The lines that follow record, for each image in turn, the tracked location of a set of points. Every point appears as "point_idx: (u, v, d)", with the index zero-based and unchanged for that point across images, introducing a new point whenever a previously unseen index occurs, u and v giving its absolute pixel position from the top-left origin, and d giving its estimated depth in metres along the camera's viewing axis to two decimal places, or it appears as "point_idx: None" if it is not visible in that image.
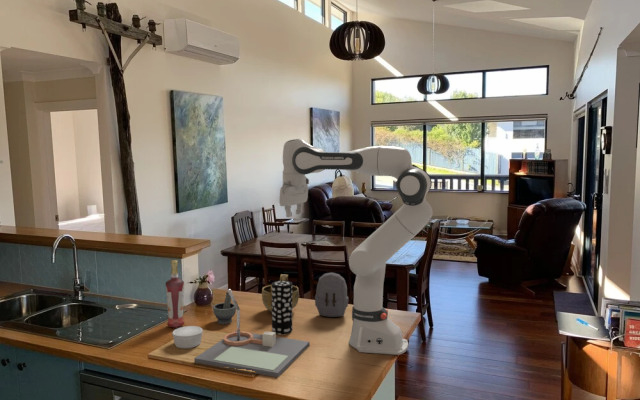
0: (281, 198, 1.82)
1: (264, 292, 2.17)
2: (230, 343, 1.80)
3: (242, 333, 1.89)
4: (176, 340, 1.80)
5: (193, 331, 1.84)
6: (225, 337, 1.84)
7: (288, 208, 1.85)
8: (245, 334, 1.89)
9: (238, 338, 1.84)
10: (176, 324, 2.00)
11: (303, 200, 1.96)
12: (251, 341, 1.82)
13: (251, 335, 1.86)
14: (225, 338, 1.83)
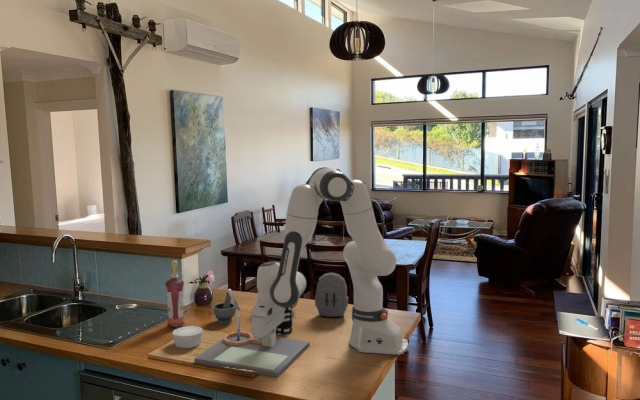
0: None
1: None
2: (230, 343, 1.80)
3: (242, 333, 1.89)
4: (176, 340, 1.80)
5: (193, 331, 1.84)
6: (225, 337, 1.84)
7: None
8: (245, 334, 1.89)
9: (238, 338, 1.84)
10: (176, 324, 2.00)
11: None
12: (251, 341, 1.82)
13: (251, 335, 1.86)
14: (225, 338, 1.83)
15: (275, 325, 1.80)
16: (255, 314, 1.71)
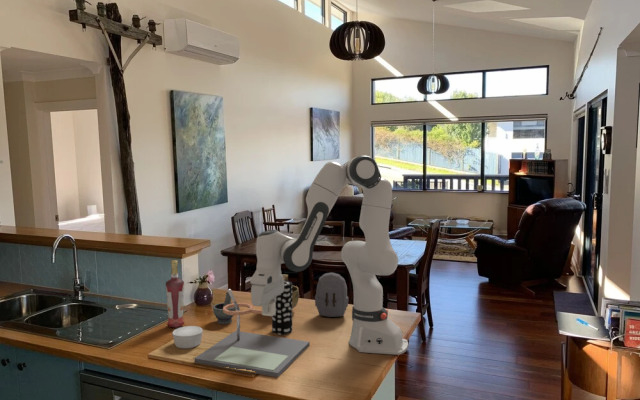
0: None
1: None
2: (229, 313, 1.78)
3: (242, 304, 1.88)
4: (176, 340, 1.80)
5: (193, 331, 1.84)
6: (224, 307, 1.83)
7: None
8: (245, 305, 1.88)
9: (238, 338, 1.84)
10: (176, 324, 2.00)
11: None
12: (251, 311, 1.81)
13: (251, 306, 1.85)
14: (224, 308, 1.82)
15: (275, 295, 1.79)
16: (255, 282, 1.70)
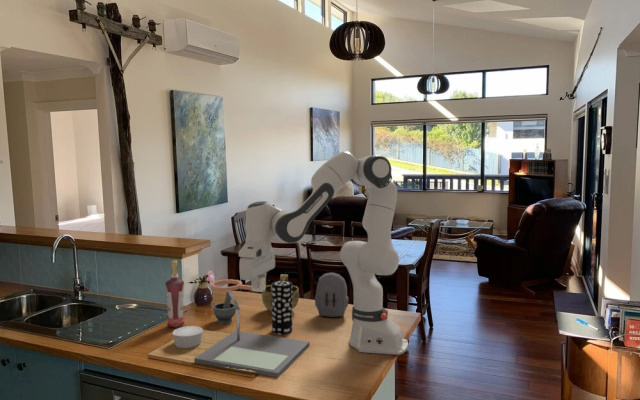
0: None
1: (264, 292, 2.17)
2: (217, 288, 1.70)
3: (231, 281, 1.80)
4: (176, 340, 1.80)
5: (193, 331, 1.84)
6: (212, 283, 1.74)
7: None
8: (234, 282, 1.79)
9: (238, 338, 1.84)
10: (176, 324, 2.00)
11: None
12: (240, 287, 1.73)
13: (240, 282, 1.77)
14: (212, 284, 1.73)
15: (265, 270, 1.71)
16: (243, 255, 1.62)
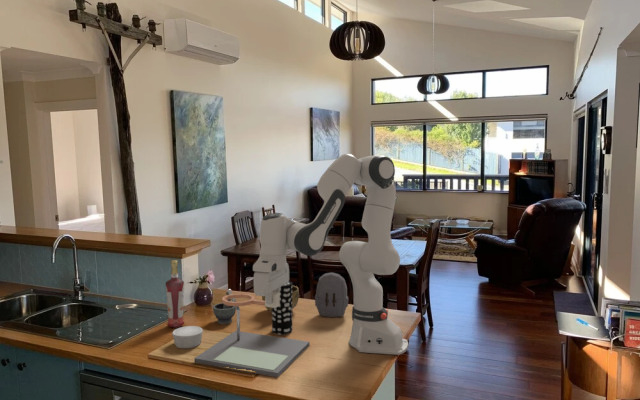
0: None
1: None
2: (229, 303, 1.63)
3: (242, 295, 1.72)
4: (176, 340, 1.80)
5: (193, 331, 1.84)
6: (224, 298, 1.67)
7: None
8: (246, 296, 1.72)
9: (238, 338, 1.84)
10: (176, 324, 2.00)
11: None
12: (252, 302, 1.65)
13: (252, 297, 1.69)
14: (224, 299, 1.66)
15: (279, 285, 1.64)
16: (258, 269, 1.54)
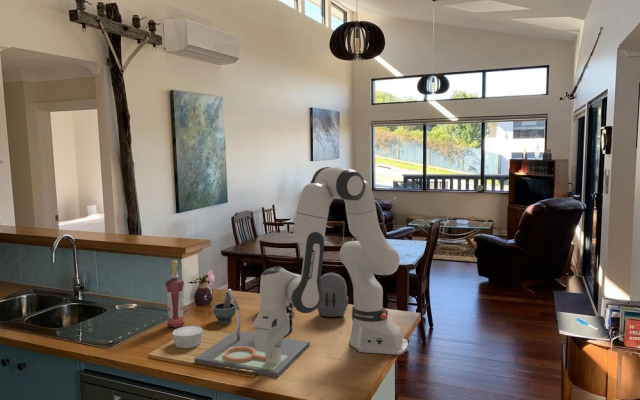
0: None
1: None
2: (231, 360, 1.65)
3: (244, 348, 1.74)
4: (176, 340, 1.80)
5: (193, 331, 1.84)
6: (225, 353, 1.69)
7: None
8: (247, 349, 1.74)
9: (238, 338, 1.84)
10: (176, 324, 2.00)
11: None
12: (254, 357, 1.67)
13: (254, 350, 1.71)
14: (225, 354, 1.68)
15: (280, 337, 1.65)
16: (258, 326, 1.56)
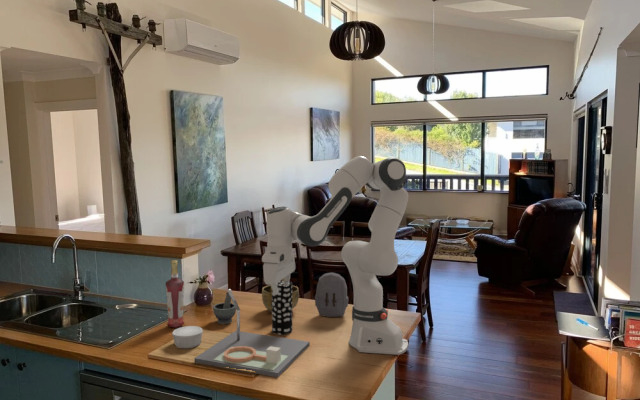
0: None
1: (264, 292, 2.17)
2: (231, 360, 1.65)
3: (244, 348, 1.74)
4: (176, 340, 1.80)
5: (193, 331, 1.84)
6: (225, 353, 1.69)
7: None
8: (247, 349, 1.74)
9: (238, 338, 1.84)
10: (176, 324, 2.00)
11: None
12: (254, 357, 1.67)
13: (254, 350, 1.71)
14: (225, 354, 1.68)
15: (287, 273, 1.75)
16: (267, 260, 1.65)
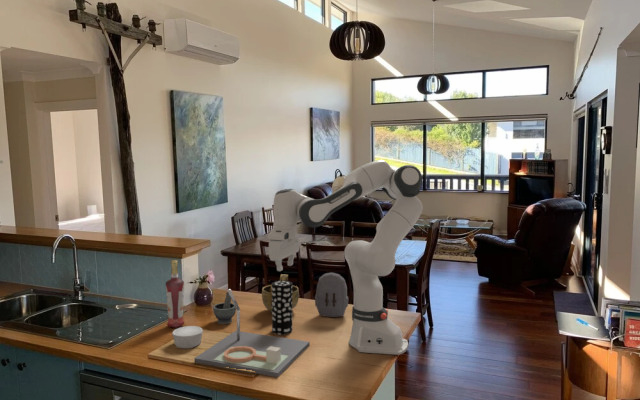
0: None
1: (264, 292, 2.17)
2: (231, 360, 1.65)
3: (244, 348, 1.74)
4: (176, 340, 1.80)
5: (193, 331, 1.84)
6: (225, 353, 1.69)
7: None
8: (247, 349, 1.74)
9: (238, 338, 1.84)
10: (176, 324, 2.00)
11: None
12: (254, 357, 1.67)
13: (254, 350, 1.71)
14: (225, 354, 1.68)
15: (291, 252, 1.84)
16: (272, 238, 1.75)
